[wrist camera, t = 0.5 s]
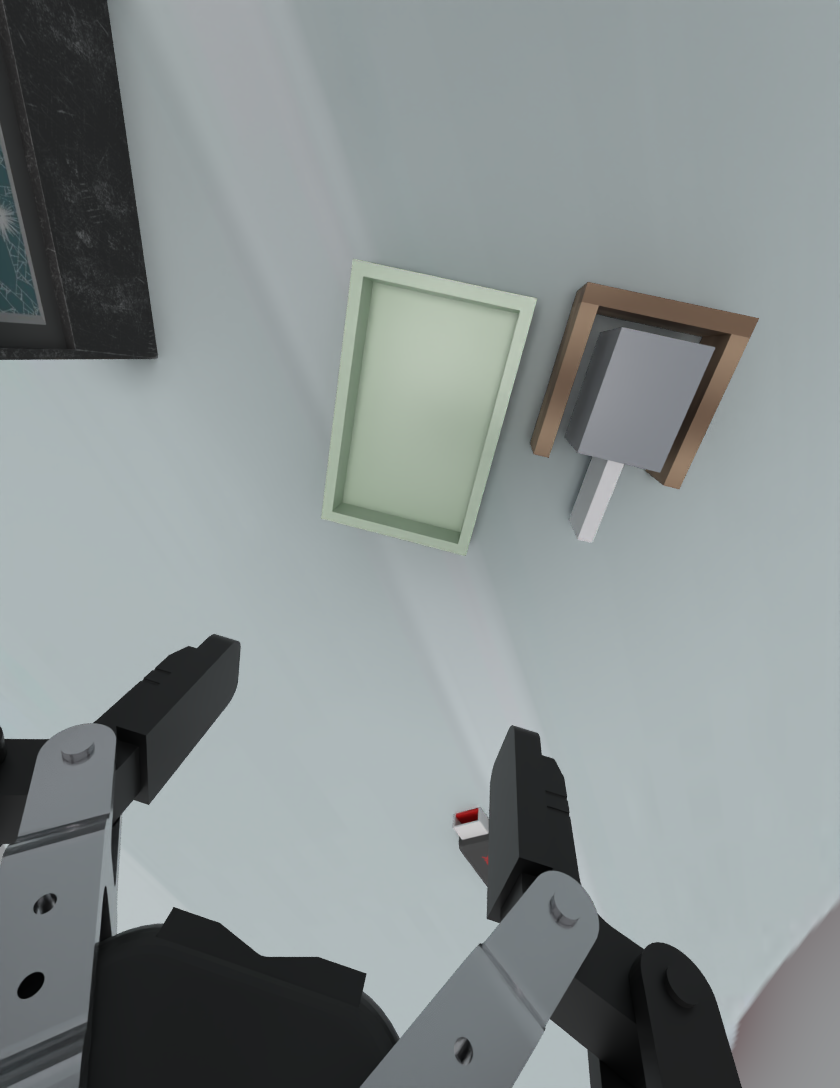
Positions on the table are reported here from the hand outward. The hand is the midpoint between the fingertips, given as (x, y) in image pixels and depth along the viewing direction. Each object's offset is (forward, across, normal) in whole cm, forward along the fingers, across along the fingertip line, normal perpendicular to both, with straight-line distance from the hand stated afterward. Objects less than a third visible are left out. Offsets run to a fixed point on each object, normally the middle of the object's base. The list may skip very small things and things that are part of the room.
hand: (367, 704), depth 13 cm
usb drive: (+25, -15, +39) cm, 49 cm away
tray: (+25, +4, -4) cm, 25 cm away
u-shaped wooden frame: (+24, -9, -10) cm, 28 cm away
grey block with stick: (+25, -9, -9) cm, 28 cm away
